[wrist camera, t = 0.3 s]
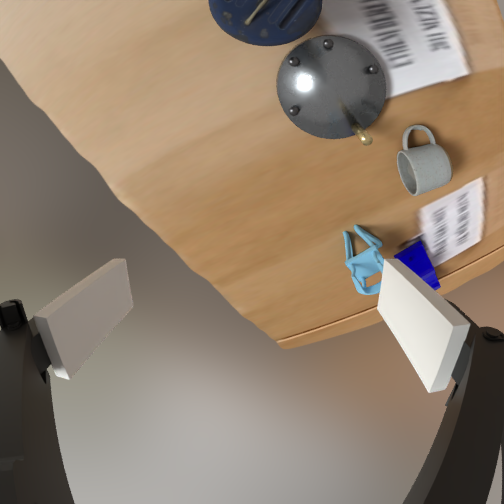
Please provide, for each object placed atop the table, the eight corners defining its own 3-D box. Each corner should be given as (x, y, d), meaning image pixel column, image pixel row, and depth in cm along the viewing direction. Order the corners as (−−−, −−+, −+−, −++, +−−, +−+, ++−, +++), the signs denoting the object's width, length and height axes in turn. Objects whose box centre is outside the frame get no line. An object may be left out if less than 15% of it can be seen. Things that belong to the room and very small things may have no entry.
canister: (209, 11, 28) (176, -1, 15) (260, -31, 23) (266, -71, 10) (260, 54, 33) (265, 71, 20) (311, 14, 28) (352, 5, 15)
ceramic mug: (436, 170, 44) (456, 192, 38) (399, 181, 46) (416, 205, 41) (431, 118, 37) (455, 135, 32) (390, 127, 39) (411, 146, 34)
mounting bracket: (435, 277, 66) (443, 295, 61) (413, 290, 69) (420, 308, 65) (419, 239, 56) (430, 258, 52) (393, 254, 60) (401, 274, 55)
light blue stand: (365, 217, 52) (385, 263, 44) (382, 242, 57) (400, 286, 48) (332, 237, 56) (345, 284, 47) (351, 260, 60) (364, 305, 51)
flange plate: (253, 69, 34) (254, 76, 30) (350, 18, 28) (366, 18, 23) (312, 152, 43) (320, 171, 39) (397, 108, 37) (416, 122, 32)
